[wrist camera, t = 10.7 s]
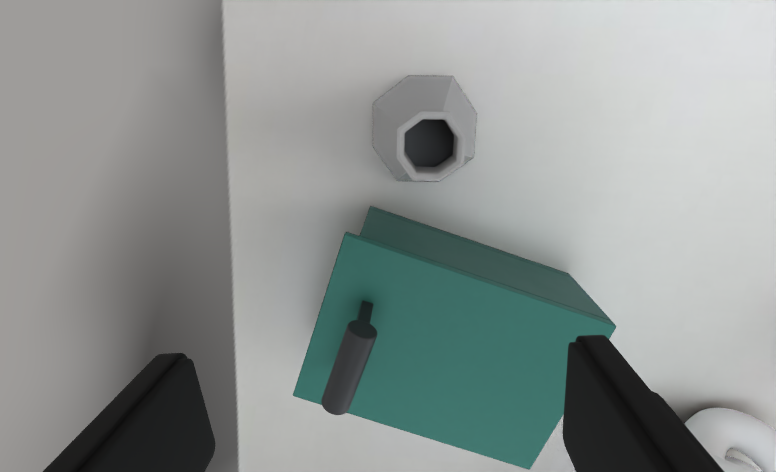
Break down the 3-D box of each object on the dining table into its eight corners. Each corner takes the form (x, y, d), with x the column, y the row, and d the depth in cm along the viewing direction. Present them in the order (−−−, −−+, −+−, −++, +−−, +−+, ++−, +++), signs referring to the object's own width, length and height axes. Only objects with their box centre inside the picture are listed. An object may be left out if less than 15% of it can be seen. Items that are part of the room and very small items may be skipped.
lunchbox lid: (295, 389, 27) (272, 446, 22) (346, 231, 23) (330, 262, 19) (527, 462, 28) (548, 530, 23) (612, 321, 24) (657, 370, 20)
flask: (356, 93, 27) (326, 91, 18) (462, 57, 26) (492, 33, 17) (389, 195, 29) (378, 242, 20) (489, 165, 28) (528, 199, 19)
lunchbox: (326, 336, 33) (306, 393, 27) (370, 205, 29) (359, 235, 23) (505, 393, 34) (527, 461, 28) (569, 273, 30) (611, 320, 24)
